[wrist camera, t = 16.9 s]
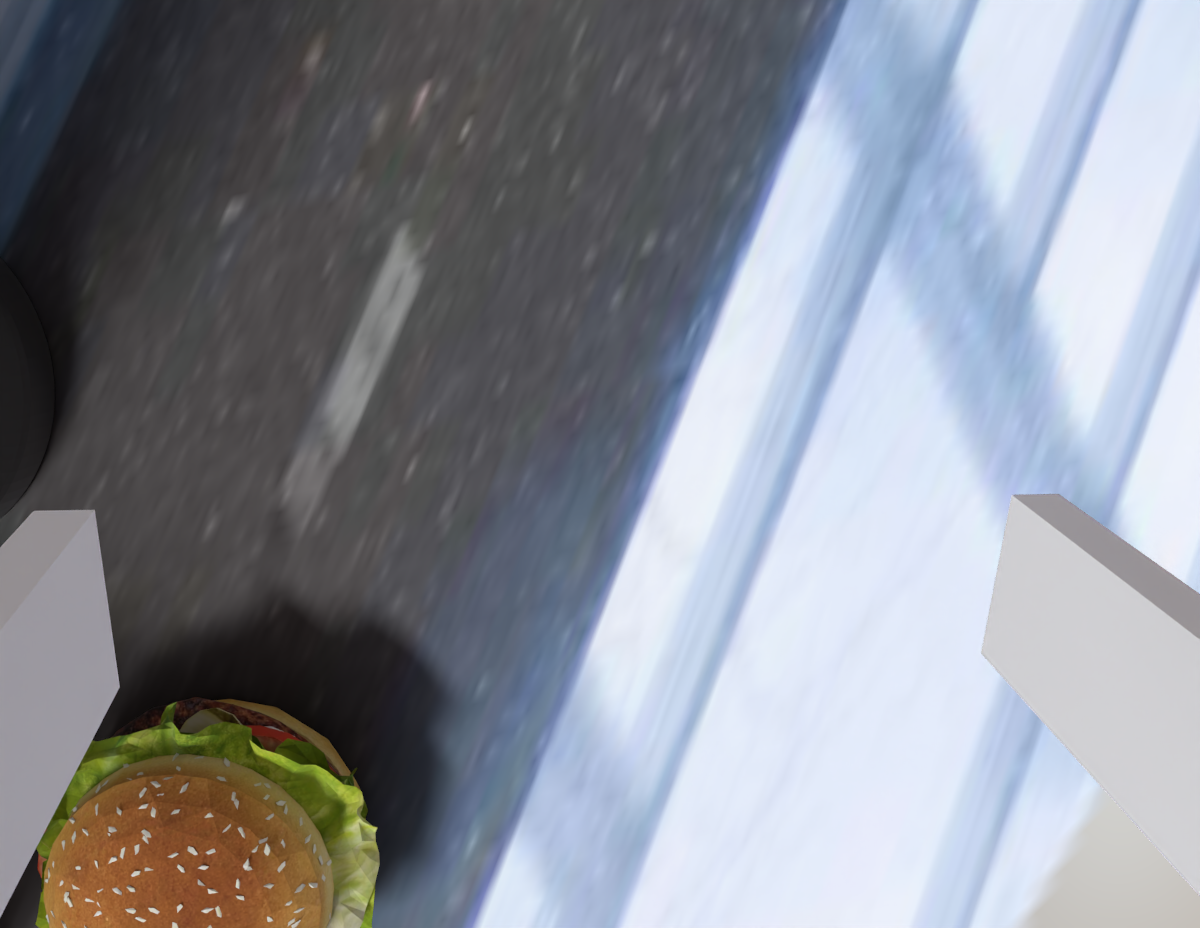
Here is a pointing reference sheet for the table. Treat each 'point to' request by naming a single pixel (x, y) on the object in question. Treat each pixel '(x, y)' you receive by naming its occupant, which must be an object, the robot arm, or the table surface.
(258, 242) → the table surface
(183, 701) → the food
